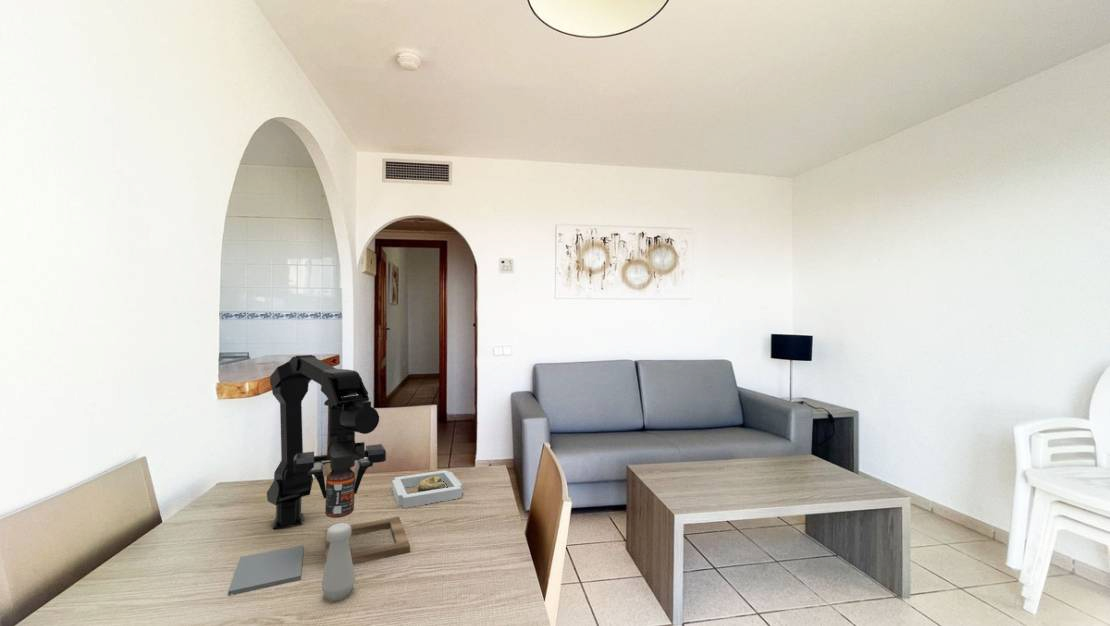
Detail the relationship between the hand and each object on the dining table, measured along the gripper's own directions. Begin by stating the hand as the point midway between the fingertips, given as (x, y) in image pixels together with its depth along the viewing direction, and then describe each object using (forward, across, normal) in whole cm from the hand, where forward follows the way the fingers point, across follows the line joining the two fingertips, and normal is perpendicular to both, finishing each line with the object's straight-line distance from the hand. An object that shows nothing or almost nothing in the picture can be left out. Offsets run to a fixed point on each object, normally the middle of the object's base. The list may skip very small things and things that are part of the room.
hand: (340, 495), depth 103 cm
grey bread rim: (+13, +25, +26) cm, 38 cm away
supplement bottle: (+4, 0, 0) cm, 4 cm away
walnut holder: (+12, +6, 0) cm, 14 cm away
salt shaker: (+12, -1, -18) cm, 22 cm away
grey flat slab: (+12, -13, -2) cm, 18 cm away
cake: (+13, +27, +26) cm, 40 cm away
